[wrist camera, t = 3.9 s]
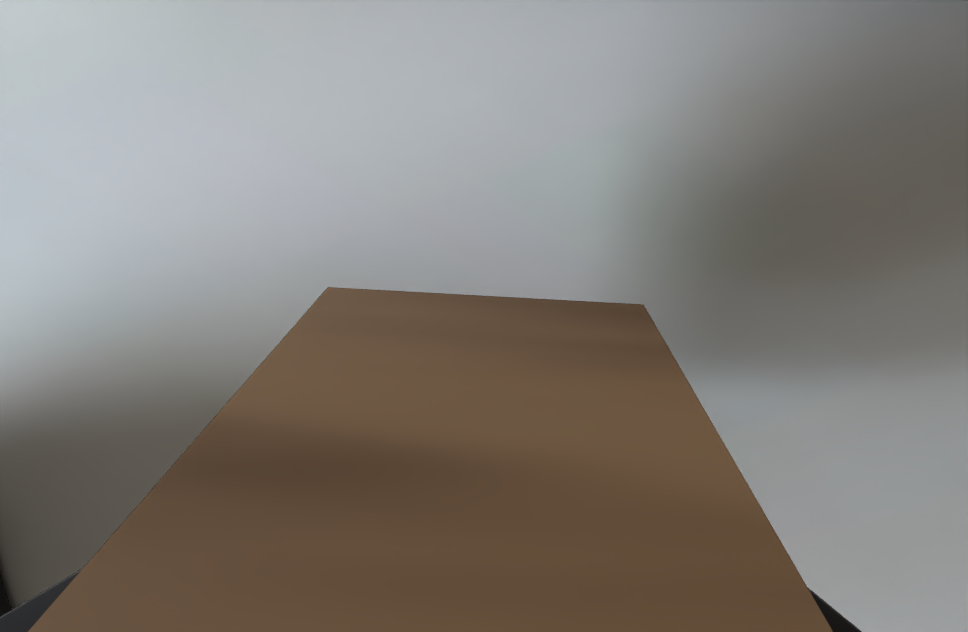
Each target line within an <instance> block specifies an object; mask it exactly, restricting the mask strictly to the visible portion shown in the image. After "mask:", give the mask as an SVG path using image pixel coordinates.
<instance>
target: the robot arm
mask: <svg viewBox="0 0 968 632" xmlns="http://www.w3.org/2000/svg"><path fill="white" fill-rule="evenodd" d="M82 569H83V568H82ZM82 569H81V570H82ZM81 570H79V571H77V572H76V573H74V574H72V575H70V576H69V577H67V578H65V579H64V580H62V581H60V582H59V583H57V584H55V585H54V586H52V587H50V588H48V589H47V590H45V591H43V592H42V593H40V594H38V595H37V596H35V597H33V598H31V599H30V600H28V601H26V602H25V603H23V604H21V605H20V606H18V607H16V608H14V609H13V610H10V606H9V603H8V600H7V596H6V593H5V590H4V586H3V583H2V580H1V577H0V632H28V631H29V630H30V629H31V628H32V626H33V625H34V624H35V623H36V622H37V621H38V620H39V618H40V617H41V616H42V615H43V614H44V613H45V611H46V610H47V609H48V608H49V607H50V606H51V605H52V603H53V602H54V601H55V600H56V599H57V598H58V597H59V595H60V594H61V593H62V592H63V591H64V590H65V589H66V587H67V586H68V585H69V584H70V583H71V582H72V580H73V579H74V578H75V577H76V576H77V575H78V574H79V572H80V571H81ZM807 588H808V587H807ZM808 589H809V588H808ZM809 591H810V593H811V595H812V596H813V598H814V600H815V602H816V603H817V605H818V607H819V608H820V610H821V612H822V614H823V615H824V617H825V619H826V621H827V622H828V624H829V626H830V627H831V629H832V631H833V632H862V631H860V630H859V629H858V628H857V627H855V626H854V625H853V624H852V623H851V622H849V621H848V620H847V619H846V618H844V617H843V616H842V615H841V614H840V613H838V612H837V611H836V610H835V609H833V608H832V607H831V606H830V605H828V604H827V603H826V602H825V601H824V600H822V599H821V598H820V597H819V596H817V595H816V594H815V593H814V592H813V591H811V590H810V589H809Z"/></svg>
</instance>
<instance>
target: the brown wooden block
mask: <svg viewBox="0 0 968 632" xmlns="http://www.w3.org/2000/svg"><path fill="white" fill-rule="evenodd" d="M28 632H833V631H832V629H831V627H830V626H829V624H828V622H827V621H826V619H825V617H824V615H823V614H822V612H821V610H820V608H819V607H818V605H817V603H816V602H815V600H814V598H813V596H812V595H811V593H810V591H809V589H808V588H807V586H806V584H805V583H804V581H803V579H802V577H801V576H800V574H799V572H798V570H797V569H796V567H795V565H794V564H793V562H792V560H791V558H790V557H789V555H788V553H787V551H786V550H785V548H784V546H783V545H782V543H781V541H780V539H779V538H778V536H777V534H776V532H775V531H774V529H773V527H772V526H771V524H770V522H769V520H768V519H767V517H766V515H765V513H764V512H763V510H762V508H761V507H760V505H759V503H758V501H757V500H756V498H755V496H754V494H753V493H752V491H751V489H750V488H749V486H748V484H747V482H746V481H745V479H744V477H743V476H742V474H741V472H740V470H739V469H738V467H737V465H736V463H735V462H734V460H733V458H732V457H731V455H730V453H729V451H728V450H727V448H726V446H725V444H724V443H723V441H722V439H721V438H720V436H719V434H718V432H717V431H716V429H715V427H714V425H713V424H712V422H711V420H710V419H709V417H708V415H707V413H706V412H705V410H704V408H703V406H702V405H701V403H700V401H699V400H698V398H697V396H696V394H695V393H694V391H693V389H692V387H691V386H690V384H689V382H688V381H687V379H686V377H685V375H684V374H683V372H682V370H681V368H680V367H679V365H678V363H677V362H676V360H675V358H674V356H673V355H672V353H671V351H670V350H669V348H668V346H667V344H666V343H665V341H664V339H663V337H662V336H661V334H660V332H659V331H658V329H657V327H656V325H655V324H654V322H653V320H652V318H651V317H650V315H649V313H648V312H647V310H646V308H645V306H644V305H641V304H623V303H604V302H586V301H568V300H550V299H532V298H514V297H495V296H477V295H459V294H441V293H423V292H405V291H386V290H368V289H350V288H332V287H328V288H327V289H326V290H325V291H324V292H323V293H322V295H321V296H320V297H319V298H318V299H317V300H316V301H315V303H314V304H313V305H312V306H311V307H310V308H309V309H308V311H307V312H306V313H305V314H304V315H303V316H302V317H301V319H300V320H299V321H298V322H297V323H296V324H295V326H294V327H293V328H292V329H291V330H290V331H289V332H288V334H287V335H286V336H285V337H284V338H283V339H282V340H281V342H280V343H279V344H278V345H277V346H276V347H275V349H274V350H273V351H272V352H271V353H270V354H269V355H268V357H267V358H266V359H265V360H264V361H263V362H262V363H261V365H260V366H259V367H258V368H257V369H256V370H255V371H254V373H253V374H252V375H251V376H250V377H249V378H248V380H247V381H246V382H245V383H244V384H243V385H242V386H241V388H240V389H239V390H238V391H237V392H236V393H235V394H234V396H233V397H232V398H231V399H230V400H229V401H228V402H227V404H226V405H225V406H224V407H223V408H222V409H221V411H220V412H219V413H218V414H217V415H216V416H215V417H214V419H213V420H212V421H211V422H210V423H209V424H208V425H207V427H206V428H205V429H204V430H203V431H202V432H201V433H200V435H199V436H198V437H197V438H196V439H195V440H194V442H193V443H192V444H191V445H190V446H189V447H188V448H187V450H186V451H185V452H184V453H183V454H182V455H181V456H180V458H179V459H178V460H177V461H176V462H175V463H174V464H173V466H172V467H171V468H170V469H169V470H168V471H167V473H166V474H165V475H164V476H163V477H162V478H161V479H160V481H159V482H158V483H157V484H156V485H155V486H154V487H153V489H152V490H151V491H150V492H149V493H148V494H147V496H146V497H145V498H144V499H143V500H142V501H141V502H140V504H139V505H138V506H137V507H136V508H135V509H134V510H133V512H132V513H131V514H130V515H129V516H128V517H127V518H126V520H125V521H124V522H123V523H122V524H121V525H120V527H119V528H118V529H117V530H116V531H115V532H114V533H113V535H112V536H111V537H110V538H109V539H108V540H107V541H106V543H105V544H104V545H103V546H102V547H101V548H100V549H99V551H98V552H97V553H96V554H95V555H94V556H93V558H92V559H91V560H90V561H89V562H88V563H87V564H86V566H85V567H84V568H83V569H82V570H81V571H80V572H79V574H78V575H77V576H76V577H75V578H74V579H73V580H72V582H71V583H70V584H69V585H68V586H67V587H66V589H65V590H64V591H63V592H62V593H61V594H60V595H59V597H58V598H57V599H56V600H55V601H54V602H53V603H52V605H51V606H50V607H49V608H48V609H47V610H46V611H45V613H44V614H43V615H42V616H41V617H40V618H39V620H38V621H37V622H36V623H35V624H34V625H33V626H32V628H31V629H30V630H29V631H28Z"/></svg>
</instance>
